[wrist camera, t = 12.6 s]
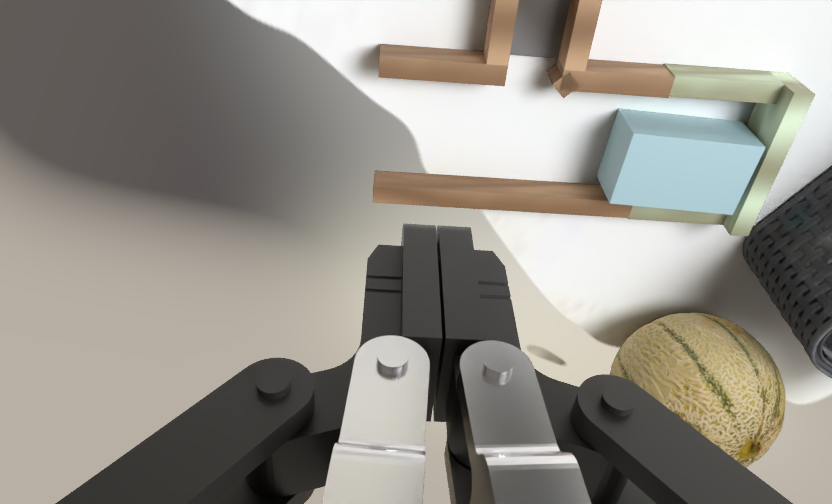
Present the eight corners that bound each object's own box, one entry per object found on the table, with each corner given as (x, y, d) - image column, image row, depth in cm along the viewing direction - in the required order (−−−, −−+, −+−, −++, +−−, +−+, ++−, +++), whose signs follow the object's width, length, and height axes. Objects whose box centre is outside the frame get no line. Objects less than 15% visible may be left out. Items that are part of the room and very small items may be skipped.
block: (617, 107, 50) (633, 133, 47) (740, 120, 51) (765, 147, 48) (595, 174, 54) (609, 203, 50) (711, 185, 55) (732, 215, 51)
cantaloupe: (562, 348, 66) (597, 478, 54) (677, 255, 59) (746, 381, 47) (659, 404, 71) (710, 534, 59) (774, 326, 64) (858, 454, 52)
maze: (386, -87, 42) (384, -74, 39) (841, -48, 43) (875, -34, 40) (374, 187, 54) (371, 213, 51) (728, 209, 56) (748, 236, 53)
